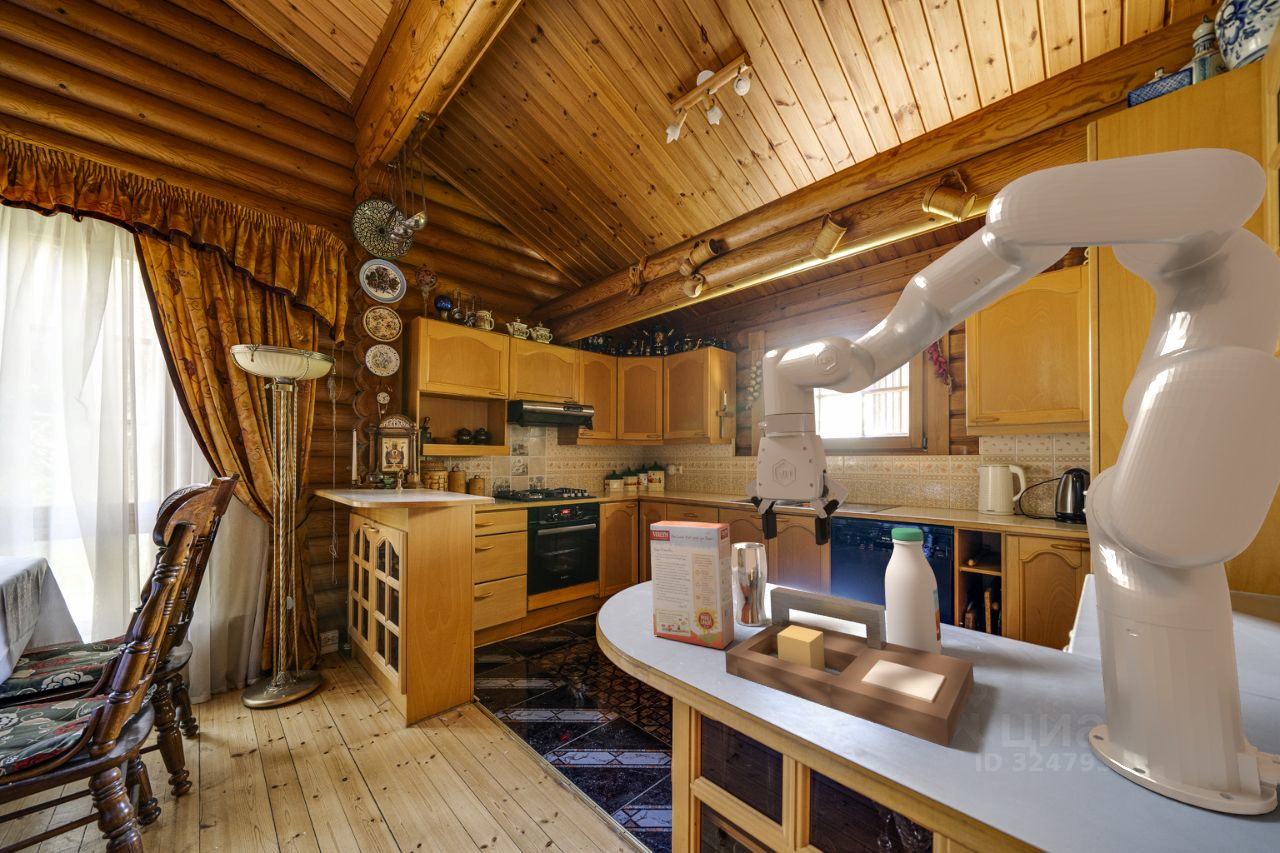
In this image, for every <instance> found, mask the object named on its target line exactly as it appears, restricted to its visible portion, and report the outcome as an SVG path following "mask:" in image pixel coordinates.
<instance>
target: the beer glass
mask: <svg viewBox="0 0 1280 853" xmlns="http://www.w3.org/2000/svg"><path fill="white" fill-rule="evenodd" d="M765 546H766V545H765V544H764V543H760V542H750V541H749V542H747V541H744V542H736V543H732V544H731V571H732V583H733V587H734V590H735V591H734V592H735V595H736V596H735V597H736V614H735V622H736V623H737V624H739V625H741V626H744V625H745V626H746V627H751V626H756V627H761V626H762V627H763V626H764V625H766V624H767V622H768V618H767V613H766V610H765V596H766V595H765V594H766V586H767V578H768V576H767V575H768V564H767V555H766V547H765ZM745 626H744V627H745Z"/></svg>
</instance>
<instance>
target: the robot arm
mask: <svg viewBox="0 0 1280 853" xmlns="http://www.w3.org/2000/svg"><path fill="white" fill-rule="evenodd" d="M1267 184H1268V181H1267V176H1266V172H1265V170H1264V169H1263V167H1262V165H1261V164H1260V163H1259V161H1257V159H1254V158H1253V157H1252V156H1250V155H1248V154H1245V153H1243V152H1240V151H1237V150H1232V149H1227V148H1221V147H1220V148H1216V147H1215V148H1214V147H1213V148H1212V147H1211V148H1208V147H1207V148H1205V147H1200V148H1199V147H1198V148H1189V149H1179V150H1172V151H1164V152H1156V153H1147V154H1140V155H1132V156H1124V157H1115V158H1107V159H1101V160H1100V159H1098V160H1092V161H1084V162H1083V161H1082V162H1078V163H1070V164H1069V163H1068V164H1065V165H1058V166H1053V167H1049V168H1044V169H1040V170H1037V171H1032V172H1030V173H1028V174H1024V175H1023V176H1020V177H1018V178H1016V179H1015V180H1013V181H1011V182H1010V183H1008V184H1007V185H1005V186H1004V187H1003V188H1001V190H1000V191H999V192H998V193H997V194H996V195H995V196H994V197H993V199H992V200H991V202H990V203H989V206H988V208H987V210H986V214H985V215H986V216H985V225H984V226H982V227H981V228H980V229H978V230H977V231H975V232H974V233H973V234H971V235H970V236H969V237H967V238H965V239H964V240H963V241H961V242H960V243H959V244H957V245H956V246H955V247H953V248H951V249H950V250H948V251H947V252H946V253H945V254H943V255H941V257H939V258H938V259H935V260H934V261H933V262H931V263H930V264H929V265H927V266H926V267H923V269H921V270H920V271H919V272H917V273H916V274H914V276H913V277H912V278H910V280H909V282H908V283H907V284H906V285H905V287H904V289H903V291H902V293H901V295H900V297H899V298H898V300H897V303H896V304H895V306H894V307H893V309H891V311H890V312H889V313H888V314H887V316H886V317H885V318H884V319H883V320H881V321H880V322H879V323H878V324H877V325H875V326H874V327H873V328H872V329H870V330H869V331H867V332H866V333H865V334H863V335H862V336H860V337H859V338H857V339H855V340H854V341H852V340H850V339H848V338H846V337H845V336H843V337H842V336H835V335H833V336H826V337H822V338H819V339H816V340H813V341H810V342H807V343H805V344H801V345H797V346H784V347H783V346H782V347H778V348H773V349H771V350H769V351H767V352H766V353H765V354H764V355H763V358H762V379H763V382H762V384H763V402H764V403H763V404H764V405H763V406H764V418H763V421H761V422H759V423H758V424H757V427H758V430H759V431H764V435H765V436H763V437H762V436H761V437H760V440H759V446H758V451H757V452H758V453H757V462H756V464H757V465H756V477H755V478H754V479H752V481H750V482H749V483H748V484H747V485H746V486H744V488H743V489H744V492H745V493H746V494H747V496H748V497H749V499H750V501H751V504H753V505H754V506H755V508H756V509H757V511H758V514H760V515H761V528H762V529H761V530H762V533H763V538H764V540H768V541H769V540H771V539H775V538H777V537H778V526H777V525H778V523H777V520H778V519H777V518H778V517H777V513H776V512H775V511H774V508H775V507H776V506H777V505H776V504H777V503H778V501H779V502H781V501H783V502H805V503H807V502H809V503H810V504H811V506H812V507H813V510H814V511H815V513H816V514H817V517H815V518H814V532H815V533H814V534H815V544H816V546H824V545H826V544H828V543H829V540H830V539H831V536H832V533H831V532H832V530H831V517H832V516H833V515H834V513H835V512H836V511H837V510H838V509H839V508H840V507H841V506H842V504H843V502H844V501H845V500H846V498H847V497H848V496H849V494H850V488H847V487H846V486H845V485H843V484H841V483H840V482H839V481H838V480H836V479H835V478H834V477H832V476H831V475H829V471H828V462H827V458H826V457H827V456H826V453H825V452H826V451H825V448H824V445H823V441H822V438H821V437H822V436H821V434H817V430H816V429H817V428H816V426H817V425H816V409H815V408H816V407H815V406H816V405H815V389H825V390H829V391H834V392H838V393H842V394H854V393H857V392H860V391H863V390H865V389H867V388H869V387H871V386H873V385H874V384H876V383H877V382H879V381H880V380H883V379H884V378H885V377H887V376H889V375H891V374H892V373H894V372H896V371H897V370H899V369H900V368H902V367H903V366H904V365H906V364H908V363H909V362H911V361H912V360H913V359H915V358H916V357H917V356H918V355H920V354H921V353H922V352H924V351H925V350H926V349H927V348H929V347H930V346H932V345H933V344H934V343H935V342H938V341H939V340H941V338H942V337H943V336H945V335H946V334H947V333H948V332H949V331H951V330H952V329H953V328H955V327H956V326H957V325H960V323H962V322H964V321H965V320H967V319H969V318H970V317H971V316H973V315H976V314H977V313H978V312H980V311H981V310H983V309H985V308H986V307H987V306H989V305H991V304H992V303H994V302H996V301H997V300H999V299H1000V298H1002V297H1004V296H1005V295H1007V294H1009V293H1010V292H1011V291H1013V290H1015V289H1016V288H1019V287H1020V286H1021V285H1023V284H1025V283H1027V282H1028V281H1029V280H1031V279H1033V278H1034V277H1036V276H1038V275H1039V274H1041V273H1042V272H1044V271H1045V270H1047V269H1049V268H1050V267H1051V266H1053V265H1054V264H1056V263H1057V262H1058V261H1060V260H1061V259H1063V257H1064V256H1065V255H1067V253H1069V252H1070V250H1071V249H1072V248H1085V247H1086V248H1087V247H1088V248H1089V247H1090V248H1091V247H1112V252H1113V255H1114V257H1115V259H1116V260H1117V262H1118V263H1119V264H1120V265H1121V266H1122V267H1123V268H1124V269H1126V270H1127V271H1129V272H1130V273H1132V274H1134V275H1135V276H1137V277H1139V278H1141V279H1142V280H1144V281H1145V282H1146V283H1147V284H1148V285H1149V286H1150V287H1151V288H1152V290H1153V292H1154V295H1155V299H1156V301H1155V302H1156V303H1155V304H1156V305H1155V312H1154V315H1153V317H1152V321H1151V324H1150V329H1149V332H1148V333H1149V334H1148V337H1147V339H1146V343H1145V346H1144V348H1143V351H1142V353H1141V357H1140V358H1139V362H1138V364H1137V367H1136V370H1135V371H1134V372H1135V373H1134V375H1133V377H1132V380H1131V382H1130V384H1129V387H1127V390H1126V392H1125V394H1124V396H1123V400H1122V401H1123V402H1122V413H1123V418H1124V421H1125V422H1126V424H1127V426H1128V427H1127V431H1126V432H1125V433H1126V434H1125V437H1124V439H1123V442H1122V444H1121V447H1120V451H1119V453H1118V458H1117V460H1116V463H1115V464H1113V465H1112V466H1109V467H1107V468H1106V469H1104V470H1103V471H1101V472H1100V473H1099V474H1098V475H1097V476H1096V477H1094V479H1093V480H1092V481H1091V482H1090V485H1089V486H1088V489H1087V491H1086V495H1085V500H1084V501H1085V502H1084V503H1085V504H1084V510H1085V511H1084V512H1085V519H1086V526H1087V533H1088V538H1089V545H1090V551H1091V558H1092V559H1091V560H1092V567H1093V568H1092V569H1093V575H1094V576H1093V580H1094V586H1095V587H1094V588H1095V597H1096V598H1095V599H1096V615H1097V616H1096V617H1097V625H1098V626H1097V627H1098V640H1099V648H1100V661H1101V671H1102V683H1103V684H1102V686H1103V694H1104V695H1103V698H1104V707H1105V719H1106V724H1100V725H1097V726H1094V727H1093V728H1092V729H1090V730H1089V732H1088V742H1089V744H1090V745H1089V747H1090V746H1091V747H1090V749H1092V750H1091V751H1092V753H1094V755H1095V756H1096V757H1097V758H1098V759H1099V760H1100V761H1101V762H1103V763H1104V764H1105V765H1106V767H1108V768H1110V769H1112V770H1113V771H1114V772H1116V773H1117V774H1119V775H1121V776H1123V777H1124V778H1125V779H1128V780H1129V781H1132V782H1134V783H1135V784H1138V785H1139V786H1142V787H1143V788H1146V789H1148V790H1151V791H1153V792H1156V793H1158V794H1160V795H1163V796H1165V797H1167V798H1170V799H1174V800H1177V801H1180V802H1182V803H1185V804H1188V805H1192V806H1196V807H1199V808H1203V809H1208V810H1211V811H1217V812H1221V813H1227V814H1236V815H1248V816H1249V815H1260V814H1268V813H1269V812H1272V811H1274V810H1276V807H1277V806H1278V804H1279V803H1278V795H1277V794H1278V793H1277V790H1276V789H1277V788H1278V786H1280V754H1272V753H1269V752H1264V751H1261V750H1258V747H1256V746H1252V745H1251V743H1250V742H1249V740H1248V738H1247V736H1246V735H1245V733H1244V723H1243V714H1242V704H1241V694H1240V685H1239V676H1238V675H1239V674H1238V673H1239V672H1238V664H1237V655H1236V644H1235V635H1234V628H1233V627H1234V619H1233V608H1232V601H1231V600H1232V599H1231V595H1230V594H1231V593H1230V587H1229V582H1228V578H1227V577H1228V576H1227V573H1226V568H1225V564H1224V563H1226V562H1228V561H1230V560H1232V559H1234V558H1236V557H1237V556H1238V555H1240V554H1242V553H1243V552H1244V551H1245V550H1246V549H1248V547H1249V546H1250V545H1251V544H1252V543H1253V541H1254V540H1255V538H1256V537H1257V535H1258V533H1259V532H1260V530H1261V528H1262V526H1263V524H1264V522H1265V519H1266V517H1267V515H1268V514H1269V513H1268V512H1269V510H1270V508H1271V505H1272V503H1273V501H1274V498H1275V496H1276V493H1277V490H1278V488H1279V486H1280V359H1279V358H1278V357H1276V356H1275V355H1274V354H1275V351H1276V347H1277V346H1278V341H1279V338H1280V257H1279V255H1278V253H1276V252H1275V250H1273V249H1272V248H1271V247H1270V246H1269V245H1268V244H1267V243H1266V242H1265V241H1264V240H1263V239H1261V238H1260V237H1259V236H1258V235H1257V234H1255V233H1253V232H1251V231H1250V230H1248V229H1246V228H1245V227H1243V226H1244V225H1245V224H1246V223H1248V221H1249V220H1250V219H1251V218H1252V217H1253V216H1254V214H1255V212H1256V211H1257V210H1258V209H1259V207H1260V205H1261V204H1262V202H1263V200H1264V197H1265V195H1266V192H1267ZM830 490H831V491H833V492H834V494H833V497H832V499H831V500H829V501H827V499H826V498H828V496H829V495H830Z"/></svg>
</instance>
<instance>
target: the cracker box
mask: <svg viewBox="0 0 1280 853" xmlns="http://www.w3.org/2000/svg"><path fill="white" fill-rule="evenodd" d="M730 528H731V527H730V524H729V523H719V522H718V523H715V522H714V523H712V522H700V521H683V520H680V521H679V520H660V521H658V522H657V521H656V522H654V523H650V560H651V561H650V563H651V564H650V565H651V594H652V597H651V598H652V624H653V626H652V627H653V629H652V630H653V636H654V635H657V636H661V637H660V638H662V637H665V638H664V639H668V638H669V640H673V641H677V642H683V643H688V644H694V645H698V646H705V647H709V648H714V649H718V650H724V649H725V648H726V647H727V646H729V644H730V643H731V642H732V641H734V639H735V622H734V620H735V619H734V617H735V616H734V615H735V614H734V595H733V577H732V568H731V553H732V547H731V532H730ZM657 636H656V637H657Z"/></svg>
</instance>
